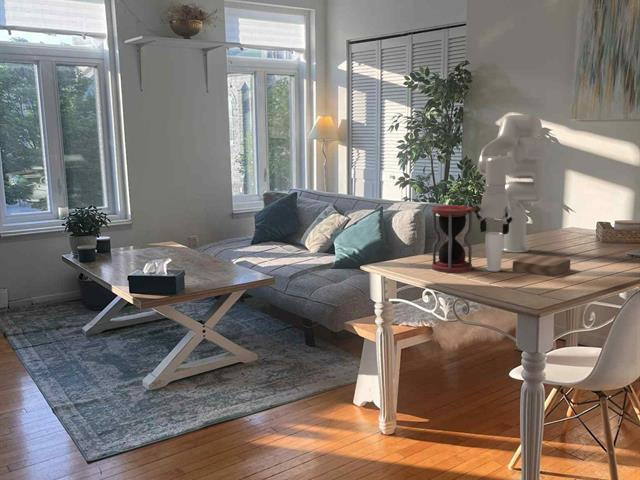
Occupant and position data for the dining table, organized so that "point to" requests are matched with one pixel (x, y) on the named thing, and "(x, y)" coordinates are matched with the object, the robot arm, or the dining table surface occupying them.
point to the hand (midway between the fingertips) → (494, 232)
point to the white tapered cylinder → (494, 250)
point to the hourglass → (452, 238)
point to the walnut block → (541, 265)
